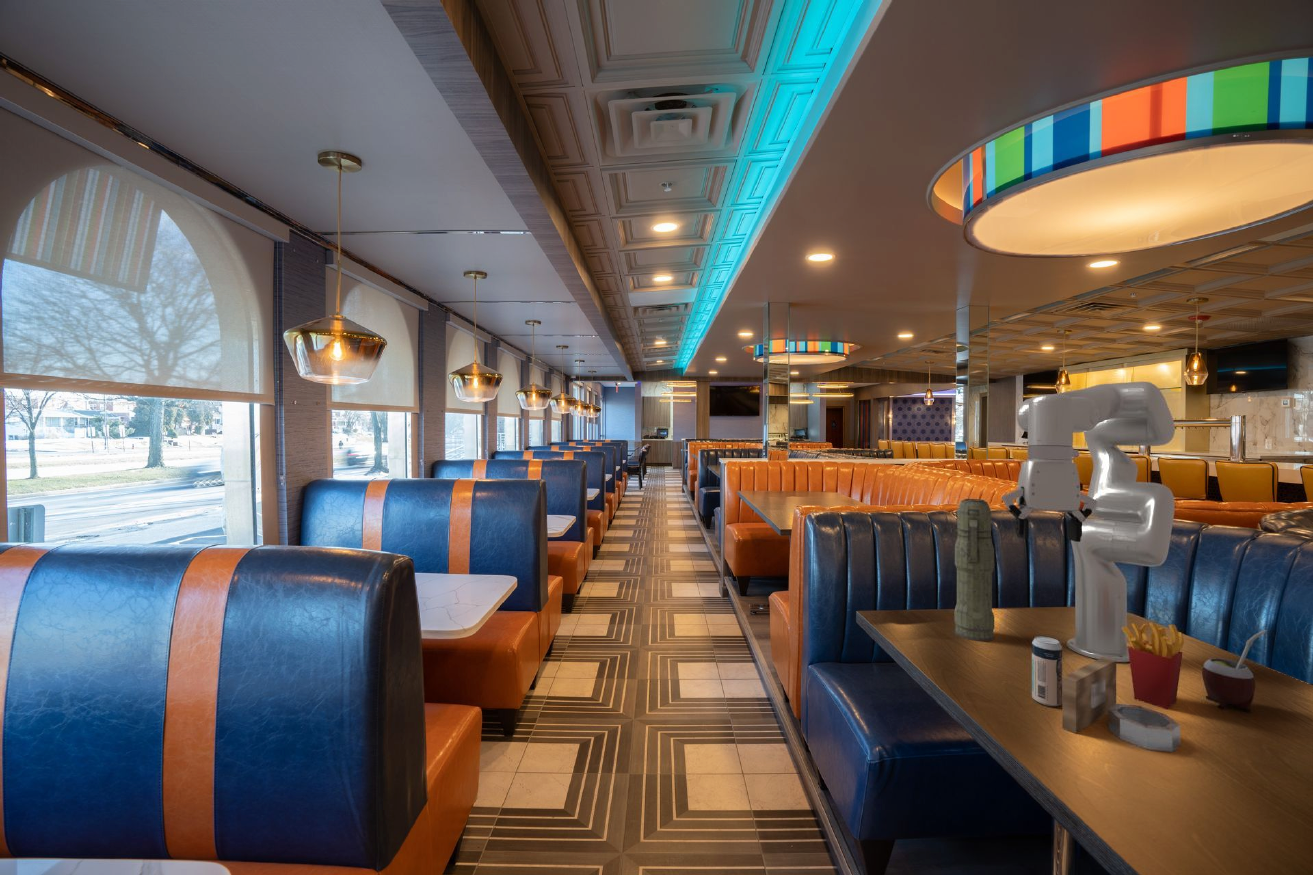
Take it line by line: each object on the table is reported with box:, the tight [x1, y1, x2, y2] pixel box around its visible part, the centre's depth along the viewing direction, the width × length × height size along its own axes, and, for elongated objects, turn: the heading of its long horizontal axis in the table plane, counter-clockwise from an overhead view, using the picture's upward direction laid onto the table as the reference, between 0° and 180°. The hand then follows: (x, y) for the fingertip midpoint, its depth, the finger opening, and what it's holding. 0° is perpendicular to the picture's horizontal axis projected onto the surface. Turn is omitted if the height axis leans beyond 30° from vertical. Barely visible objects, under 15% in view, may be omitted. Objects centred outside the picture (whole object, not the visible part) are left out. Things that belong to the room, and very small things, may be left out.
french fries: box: [1121, 622, 1185, 710], centre depth 107 cm, size 9×8×15 cm
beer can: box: [1031, 636, 1063, 707], centre depth 106 cm, size 5×5×12 cm
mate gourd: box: [1201, 629, 1268, 714], centre depth 104 cm, size 8×8×15 cm
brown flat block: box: [1061, 657, 1117, 734], centre depth 100 cm, size 17×2×9 cm, turn 122°
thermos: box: [953, 498, 995, 642], centre depth 142 cm, size 9×12×35 cm
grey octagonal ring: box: [1107, 703, 1181, 753], centre depth 93 cm, size 8×8×4 cm
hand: (1048, 539), depth 111 cm, fingers open, 9 cm apart
